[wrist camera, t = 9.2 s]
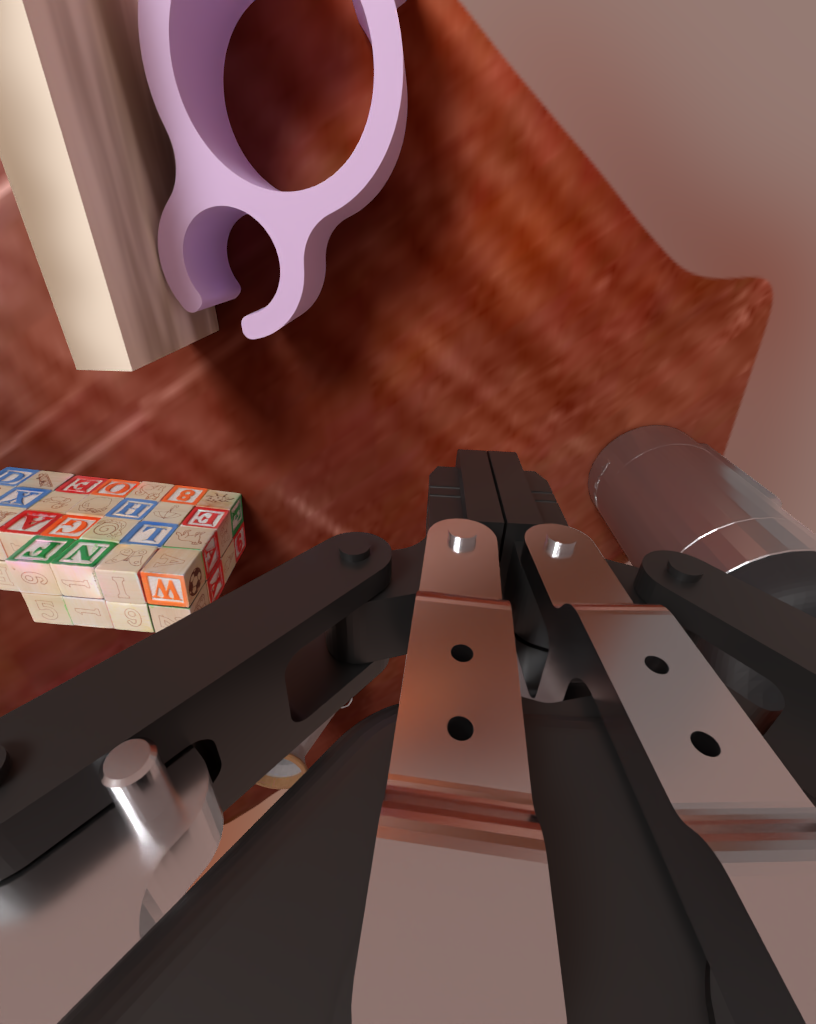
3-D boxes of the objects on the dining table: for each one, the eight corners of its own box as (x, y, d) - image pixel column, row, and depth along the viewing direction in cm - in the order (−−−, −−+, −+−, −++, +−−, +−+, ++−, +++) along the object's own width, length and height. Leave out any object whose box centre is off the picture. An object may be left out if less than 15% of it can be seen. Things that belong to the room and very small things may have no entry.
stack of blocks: (30, 521, 44) (-92, 611, 34) (7, 464, 41) (-135, 543, 31) (248, 546, 45) (195, 640, 35) (243, 491, 42) (183, 578, 31)
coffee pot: (328, 704, 58) (301, 837, 45) (242, 673, 55) (188, 805, 42) (410, 597, 48) (405, 729, 35) (311, 552, 45) (266, 678, 32)
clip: (334, 345, 35) (315, 368, 29) (170, 270, 32) (114, 278, 27) (452, 2, 25) (460, -70, 19) (230, -142, 23) (161, -274, 17)
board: (131, -135, 23) (-108, -437, 12) (219, 330, 34) (132, 371, 24) (72, -136, 23) (-214, -437, 13) (180, 329, 34) (76, 369, 24)
